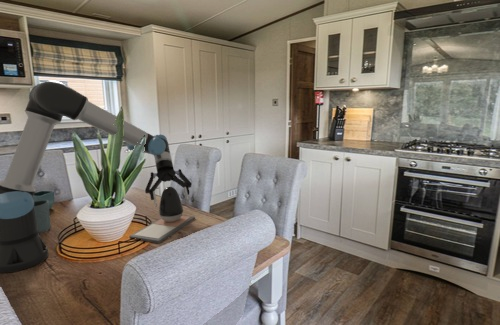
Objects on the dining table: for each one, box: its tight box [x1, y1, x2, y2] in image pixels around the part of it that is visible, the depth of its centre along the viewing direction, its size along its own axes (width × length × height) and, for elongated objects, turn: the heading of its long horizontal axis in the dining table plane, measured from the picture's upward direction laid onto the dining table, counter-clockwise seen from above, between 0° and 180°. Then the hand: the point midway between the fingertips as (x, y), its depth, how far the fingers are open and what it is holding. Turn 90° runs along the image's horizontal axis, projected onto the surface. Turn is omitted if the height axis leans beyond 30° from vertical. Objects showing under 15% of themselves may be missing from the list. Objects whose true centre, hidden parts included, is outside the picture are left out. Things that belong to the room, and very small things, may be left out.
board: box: [129, 214, 196, 244], centre depth 130 cm, size 26×14×1 cm, turn 159°
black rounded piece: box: [158, 186, 184, 222], centre depth 134 cm, size 10×10×15 cm
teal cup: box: [34, 200, 52, 234], centre depth 131 cm, size 10×10×12 cm
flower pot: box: [33, 190, 55, 210], centre depth 157 cm, size 9×9×9 cm
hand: (172, 203), depth 133 cm, fingers open, 13 cm apart
